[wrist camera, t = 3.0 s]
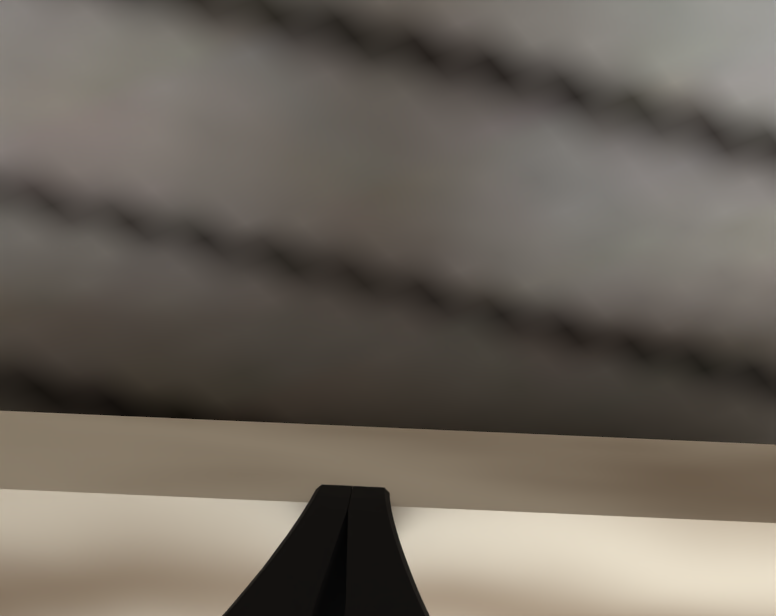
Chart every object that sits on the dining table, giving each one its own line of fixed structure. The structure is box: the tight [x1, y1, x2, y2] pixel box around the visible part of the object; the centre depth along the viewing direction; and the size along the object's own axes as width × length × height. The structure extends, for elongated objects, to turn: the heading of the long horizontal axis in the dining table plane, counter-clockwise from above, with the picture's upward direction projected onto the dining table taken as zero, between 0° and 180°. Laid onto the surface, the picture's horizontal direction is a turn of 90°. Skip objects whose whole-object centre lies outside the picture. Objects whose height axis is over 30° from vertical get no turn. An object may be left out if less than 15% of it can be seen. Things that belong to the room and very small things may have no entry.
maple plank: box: [0, 411, 776, 616], centre depth 13 cm, size 8×24×2 cm, turn 88°
